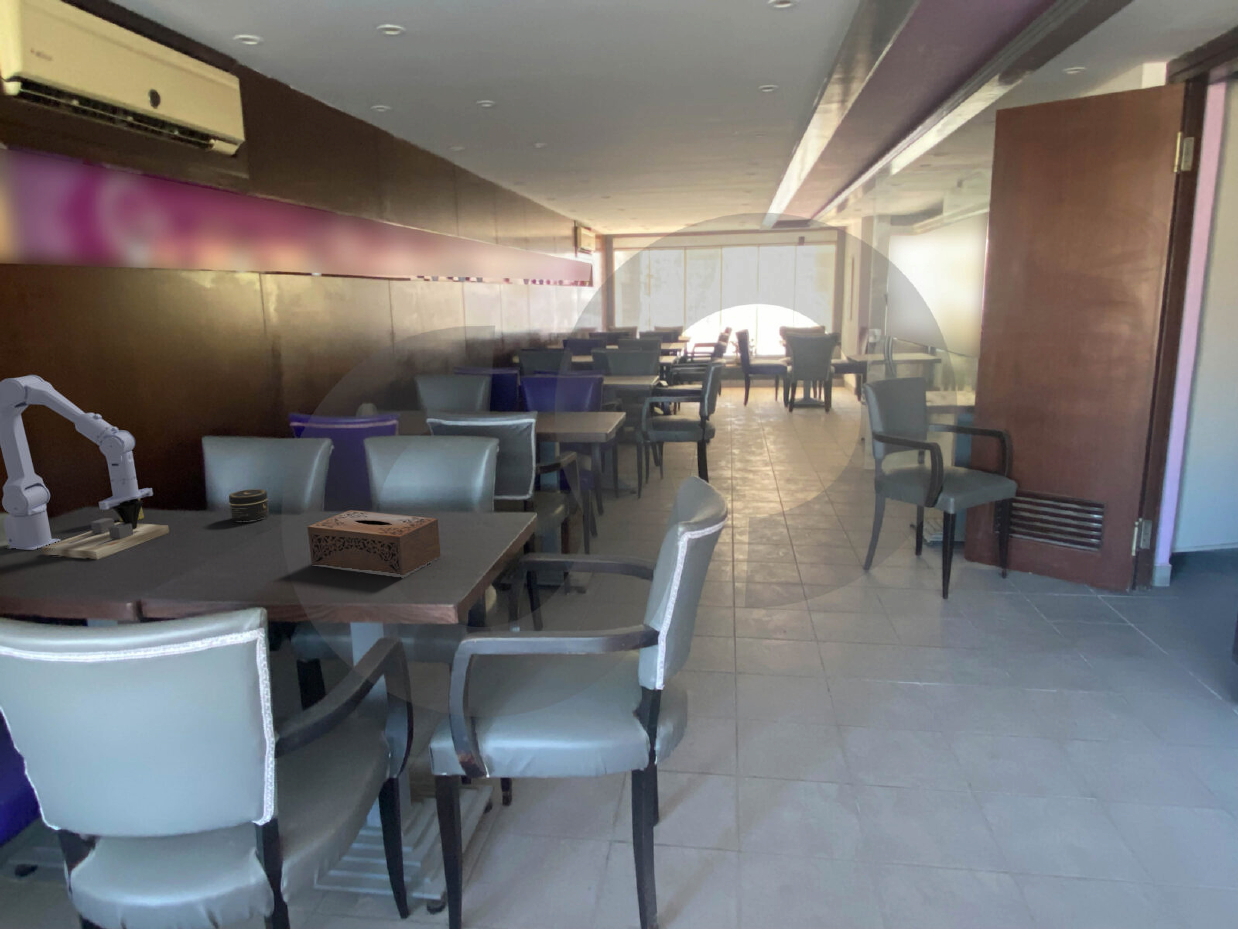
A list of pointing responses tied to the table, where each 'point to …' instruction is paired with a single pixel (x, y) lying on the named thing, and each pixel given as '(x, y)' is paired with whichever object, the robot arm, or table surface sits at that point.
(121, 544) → the wooden board
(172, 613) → the table surface
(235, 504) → the jar
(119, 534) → the outer knob
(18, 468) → the robot arm
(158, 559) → the table surface
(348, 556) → the tissue box cover
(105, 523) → the inner knob
